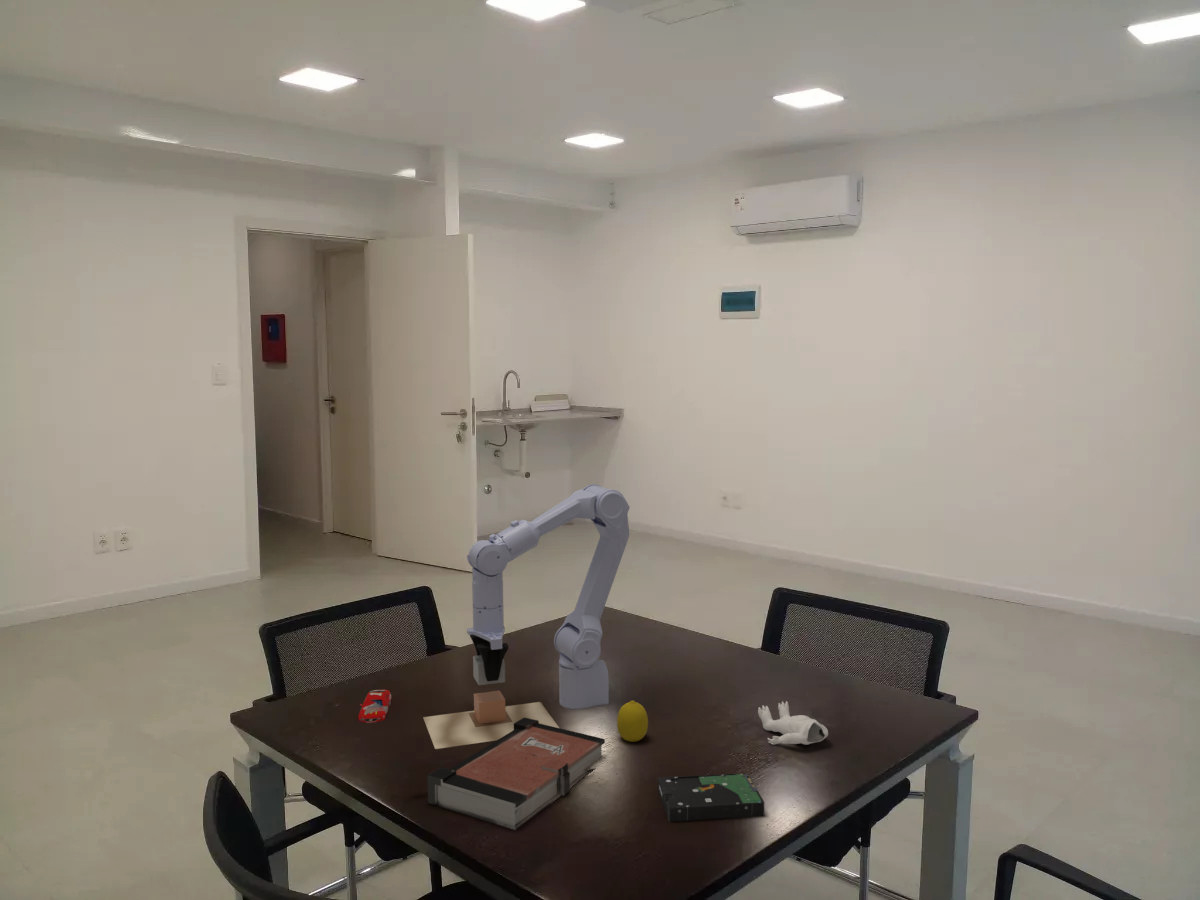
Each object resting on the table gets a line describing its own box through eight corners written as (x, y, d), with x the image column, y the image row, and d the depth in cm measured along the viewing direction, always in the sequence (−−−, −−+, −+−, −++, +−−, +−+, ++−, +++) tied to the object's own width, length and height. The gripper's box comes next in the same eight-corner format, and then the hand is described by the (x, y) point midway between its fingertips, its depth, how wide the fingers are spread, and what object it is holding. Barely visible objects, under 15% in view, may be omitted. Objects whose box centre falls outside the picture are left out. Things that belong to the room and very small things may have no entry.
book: (519, 834, 134) (519, 801, 134) (428, 805, 143) (427, 774, 142) (608, 765, 157) (608, 737, 156) (524, 744, 165) (524, 717, 165)
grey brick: (499, 673, 176) (498, 653, 176) (505, 682, 171) (504, 661, 171) (473, 676, 174) (473, 656, 174) (478, 685, 170) (478, 664, 169)
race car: (385, 729, 172) (384, 708, 172) (355, 730, 172) (354, 709, 171) (395, 702, 185) (394, 683, 185) (368, 703, 185) (367, 684, 184)
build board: (540, 706, 182) (540, 701, 181) (561, 736, 167) (561, 730, 167) (423, 722, 174) (423, 716, 174) (435, 754, 160) (435, 748, 160)
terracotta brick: (499, 710, 177) (499, 690, 176) (505, 720, 172) (505, 699, 172) (474, 713, 175) (473, 693, 175) (479, 723, 171) (479, 703, 170)
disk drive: (669, 826, 136) (765, 819, 138) (668, 808, 136) (766, 801, 138) (656, 793, 147) (747, 787, 148) (656, 776, 146) (747, 770, 148)
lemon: (651, 739, 166) (651, 697, 165) (642, 752, 160) (642, 708, 160) (622, 735, 167) (622, 693, 167) (613, 748, 162) (612, 704, 161)
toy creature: (797, 697, 174) (839, 703, 164) (801, 729, 174) (843, 738, 163) (745, 708, 169) (784, 716, 158) (749, 742, 168) (789, 751, 158)
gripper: (459, 597, 177) (461, 665, 178) (474, 617, 163) (475, 691, 165) (495, 594, 179) (496, 661, 181) (513, 613, 166) (514, 686, 167)
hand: (489, 675), depth 173 cm, fingers closed on grey brick, 5 cm apart
